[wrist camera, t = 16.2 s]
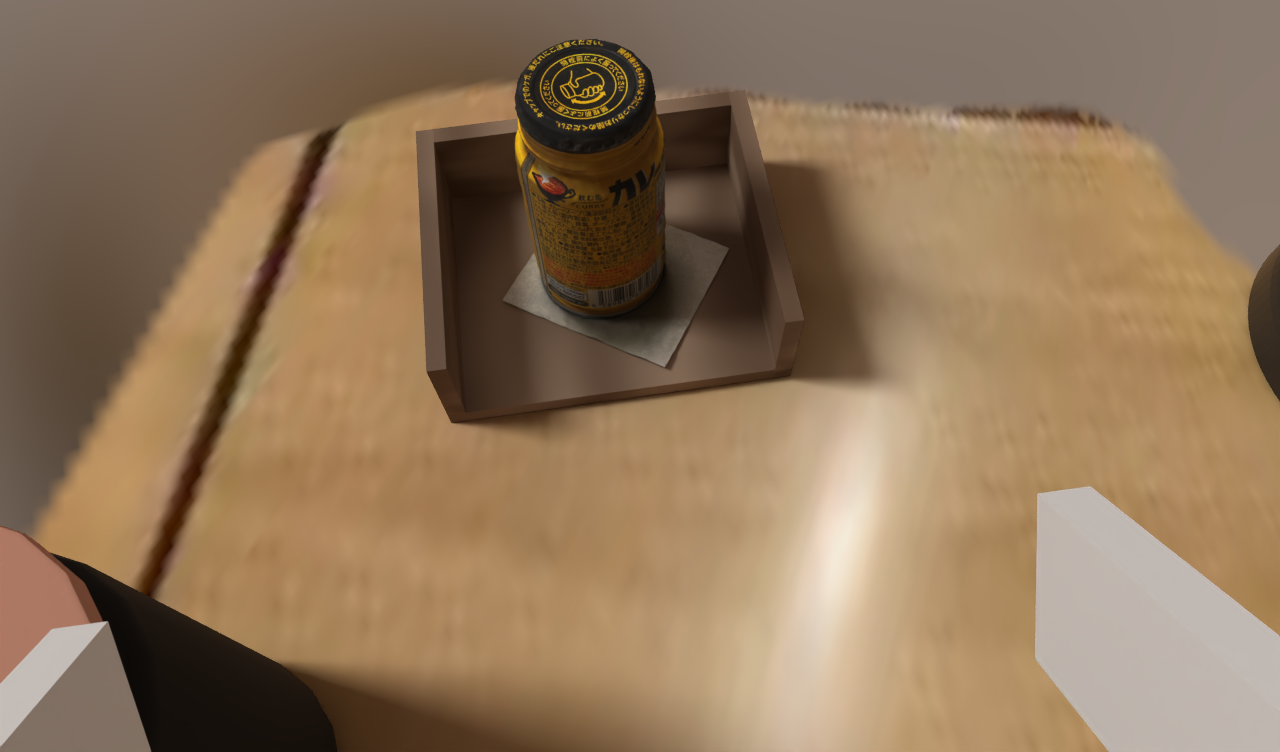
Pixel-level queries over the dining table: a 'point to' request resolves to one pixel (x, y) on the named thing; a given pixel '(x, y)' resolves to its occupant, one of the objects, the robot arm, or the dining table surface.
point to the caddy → (568, 360)
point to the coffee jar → (160, 659)
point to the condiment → (603, 204)
